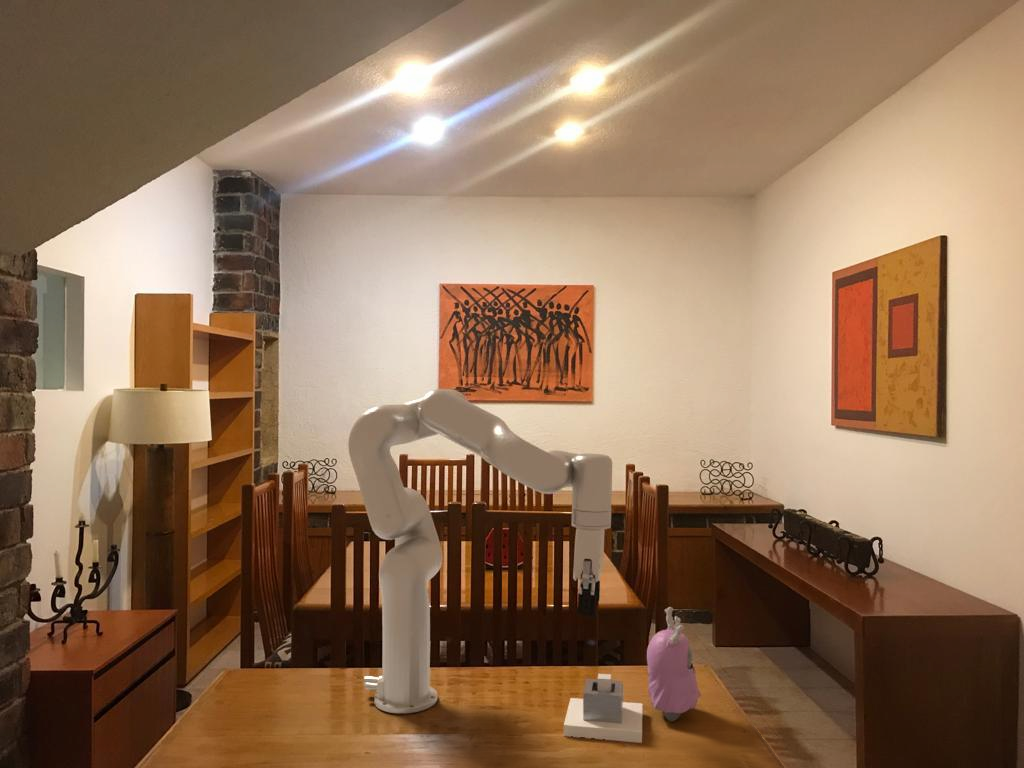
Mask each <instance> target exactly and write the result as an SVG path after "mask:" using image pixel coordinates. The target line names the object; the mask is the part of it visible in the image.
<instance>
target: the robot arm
mask: <svg viewBox="0 0 1024 768" xmlns="http://www.w3.org/2000/svg"><path fill="white" fill-rule="evenodd" d="M437 435H440V436H442V437H443V438H446V439H448V440H450V441H451V442H454V444H456V445H458V446H460V447H462V448H464V449H466V450H468V451H470V452H472V453H473V454H475V455H477V456H479V457H480V458H482V459H483V460H484V461H485V462H486V463H488V464H490V465H491V466H493V467H494V468H495V469H497V470H498V471H499V472H501V473H503V474H504V475H506V476H507V477H509V478H511V479H512V480H515V481H517V482H518V483H520V484H522V485H523V486H526V487H527V488H529V489H531V490H534V491H536V492H538V493H541V494H544V495H545V494H546V495H552V494H556V493H558V492H560V491H561V490H562V489H565V488H572V490H571V491H572V495H571V496H572V497H571V499H572V500H571V527H573V528H576V529H575V539H574V555H573V557H574V558H573V570H572V572H573V573H572V575H573V576H572V578H573V580H574V581H575V582H576V581H577V580H579V590H578V595H577V615H578V616H581V617H582V616H583V617H584V616H585V617H595V616H596V604H597V603H598V602H599V601H600V599H601V597H600V594H601V590H600V588H601V581H600V578H601V575H602V571H603V565H604V552H605V530H609V529H611V528H612V499H613V498H612V495H613V494H612V493H613V492H612V491H613V461H612V458H611V456H608V455H606V454H602V453H574V452H568V451H563V450H549V451H546V450H544V449H542V448H540V447H538V446H536V445H534V444H532V443H530V442H528V441H527V440H526V439H523V438H522V437H520V436H519V435H517V434H516V433H515V432H514V431H512V430H511V429H510V428H509V426H508V425H507V423H506V422H505V421H504V420H503V419H502V418H501V417H499V416H497V415H495V414H493V413H491V412H490V411H487V410H485V409H483V408H482V407H479V406H477V405H476V404H473V403H472V402H470V401H469V399H468V398H467V397H466V396H465V395H464V394H463V393H461V392H460V391H459V390H455V389H453V388H452V389H451V388H450V389H449V388H447V389H445V388H436V389H433V390H430V391H428V392H427V393H426V394H425V395H424V396H423V397H422V398H419V399H416V400H412V401H411V400H410V401H408V402H404V403H401V404H382V405H381V404H380V405H377V406H374V407H372V408H370V409H367V410H366V411H365V412H363V414H361V415H360V416H359V417H358V418H357V420H356V421H355V422H354V423H353V426H352V427H351V430H350V433H349V437H348V441H347V442H348V445H347V446H348V454H349V455H348V456H349V458H350V461H351V464H352V467H353V470H354V474H355V476H356V479H357V484H358V486H359V491H360V493H361V497H362V500H363V504H364V506H365V507H364V508H365V511H366V515H367V517H368V520H369V524H370V527H371V530H372V531H373V532H374V534H375V535H376V536H378V538H380V539H382V540H388V541H392V540H394V541H395V544H396V545H395V546H394V547H392V548H390V550H389V551H388V552H386V553H385V555H384V557H382V560H381V562H380V565H379V569H378V580H379V587H380V596H381V608H382V609H381V611H382V612H381V614H382V619H381V620H382V624H381V625H382V655H381V656H382V660H381V661H382V663H381V665H382V667H381V668H382V671H381V672H382V675H379V676H378V677H377V676H373V675H365V676H364V678H363V686H364V690H366V691H375V692H376V693H375V694H374V701H373V702H374V706H375V707H376V708H378V709H379V710H381V711H384V712H386V713H391V714H412V713H418V712H422V711H425V710H427V709H430V708H431V707H433V706H434V705H435V704H436V702H438V692H437V689H435V688H434V687H432V686H431V685H430V683H431V681H430V680H431V679H430V678H431V677H430V675H431V667H430V665H431V664H430V663H431V648H430V647H431V616H430V615H431V614H430V613H431V609H430V600H429V595H428V582H429V581H430V580H431V579H433V578H434V577H435V576H436V575H437V573H438V572H439V571H440V569H441V567H442V565H443V559H444V556H443V555H444V554H443V550H442V545H441V542H440V539H439V538H440V537H439V535H438V532H437V529H436V527H435V523H434V519H433V516H432V512H431V510H430V507H429V505H428V503H427V501H426V500H425V498H424V496H423V495H422V494H421V493H420V492H419V491H418V490H415V489H413V488H410V487H405V486H404V484H403V481H402V478H401V473H400V471H399V468H398V465H397V463H396V461H395V460H394V458H393V456H392V454H391V448H392V447H394V446H399V445H405V444H409V443H412V442H416V441H418V440H422V439H425V438H429V437H433V436H437ZM596 602H597V603H596Z"/></svg>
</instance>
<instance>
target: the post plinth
mask: <svg viewBox="0 0 1024 768" xmlns="http://www.w3.org/2000/svg"><path fill="white" fill-rule="evenodd" d="M597 679H598V691H602V692H611V680H612V674H609V673H608V674H607V673H598V675H597ZM571 736H573V737H571ZM563 737H568V738H569V737H570V738H580V737H585V738H584V739H591V738H595V739H594V740H603V739H605V740H604V741H618V742H627V743H638V744H639V743H640V744H642V743H643V702H642V703H639V702H629V701H628V702H626V701H623V713H622V724H620V723H608V722H596V721H585V720H583V698H579V697H570V699H569V703H568V707H567V711H566V713H565V719H564V723H563Z"/></svg>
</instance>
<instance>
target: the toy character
mask: <svg viewBox="0 0 1024 768" xmlns="http://www.w3.org/2000/svg"><path fill="white" fill-rule="evenodd" d="M673 611H674V608H673V607H672V606H669V607H667V608H665V609H664V613H665V614H666V616H665V620H666V624H667V628H666V629H662V630H659V631H658V632H656V633H655V634H654V635H653V636H652V638H651V639H650V642H649V643H648V646H647V649H646V663H647V675H648V683H647V684H648V694H649V696H650V702H651V704H652V705H653V707H654V709H656V710H658V711H661V712H662V714H663V715H664V717H665V718H666V720H667V721H669V722H675V721H677V720H678V719H679V718H680V716H681V715H682V714H684V713H685V712H687V711H689V710H693V709H695V708H696V707H697V705H698V700H699V697H701V696H702V693H701V692H700V690H699V686H698V681H697V675H696V672H697V671H696V668H695V666H694V665H693V663H692V662H693V658H692V657H693V653H692V651H691V647H690V646H689V645H690V640H689V638H687V637H686V636H685V635H684V634H683V633H682V631H683V630H684V628H685V627H684V625H683V624H681V621H682V620H681V618H680V617H678V616H677V615H676V616H674V617H673V616H672V615H673V613H672V612H673Z"/></svg>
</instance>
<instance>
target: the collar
mask: <svg viewBox="0 0 1024 768" xmlns="http://www.w3.org/2000/svg"><path fill="white" fill-rule="evenodd" d="M582 696H583V697H582V699H583V720H585V721H596V722H608V723H620V724H622V713H623V702H624V681H623V680H614V679H613V680H612V679H611V692H602V691H598V678H595V679H594V678H586V679H585V683H584V689H583V693H582Z"/></svg>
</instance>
